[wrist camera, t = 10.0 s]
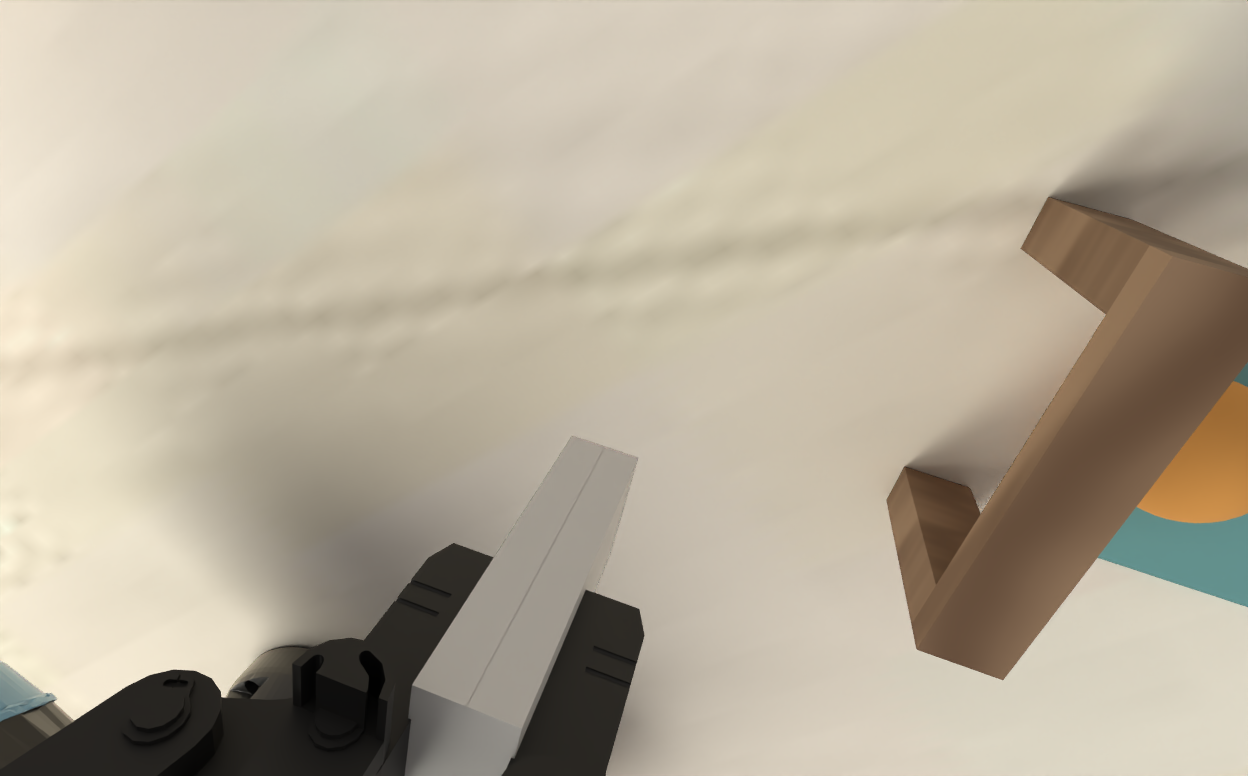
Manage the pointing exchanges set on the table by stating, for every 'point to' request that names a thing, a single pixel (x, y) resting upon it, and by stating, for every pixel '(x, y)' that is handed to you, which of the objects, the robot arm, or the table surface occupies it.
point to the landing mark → (1187, 549)
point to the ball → (1208, 468)
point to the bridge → (1074, 439)
